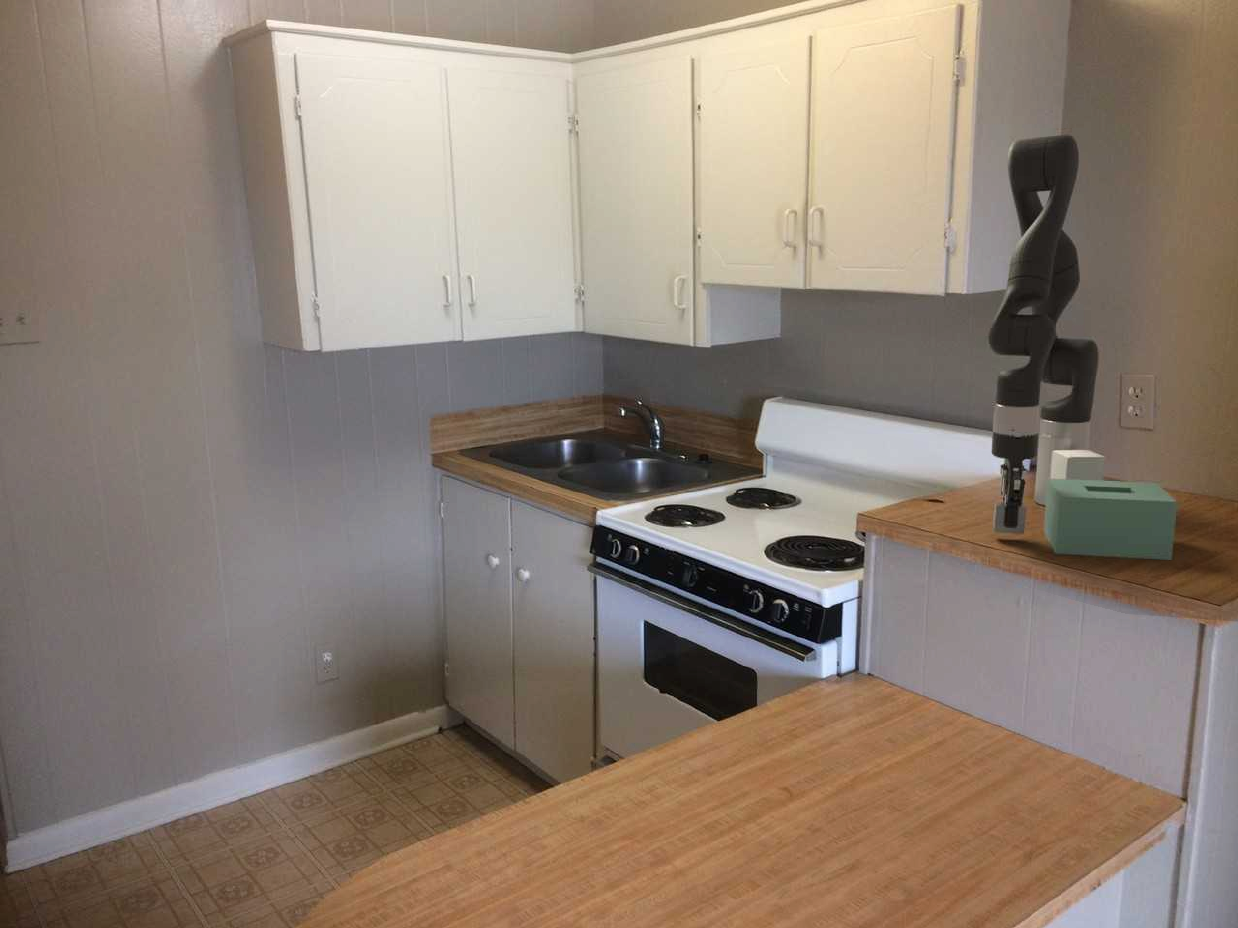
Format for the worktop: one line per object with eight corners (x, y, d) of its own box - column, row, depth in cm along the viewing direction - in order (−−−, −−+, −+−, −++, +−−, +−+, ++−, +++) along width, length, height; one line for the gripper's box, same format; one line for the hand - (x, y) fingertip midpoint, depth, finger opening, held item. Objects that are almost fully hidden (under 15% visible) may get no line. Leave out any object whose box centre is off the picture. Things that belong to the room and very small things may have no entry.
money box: (1043, 531, 189) (1047, 478, 187) (1150, 537, 184) (1156, 482, 182) (1055, 553, 176) (1060, 496, 173) (1171, 560, 171) (1177, 501, 169)
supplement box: (1101, 522, 195) (1106, 456, 192) (1061, 522, 195) (1066, 457, 192) (1084, 512, 202) (1089, 449, 199) (1046, 512, 202) (1051, 449, 200)
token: (992, 528, 186) (994, 501, 184) (1022, 530, 184) (1024, 503, 183) (994, 532, 183) (996, 505, 182) (1024, 534, 182) (1026, 506, 181)
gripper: (989, 422, 187) (983, 514, 191) (997, 436, 174) (991, 535, 178) (1033, 423, 185) (1026, 515, 189) (1044, 437, 172) (1037, 537, 176)
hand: (1009, 524), depth 183 cm, fingers closed on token, 2 cm apart
